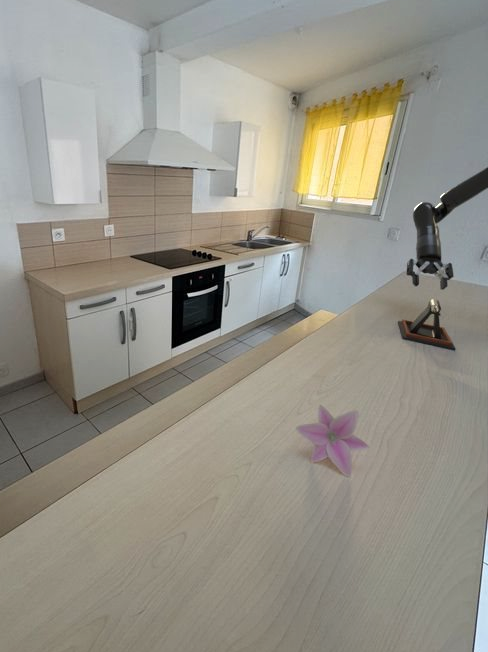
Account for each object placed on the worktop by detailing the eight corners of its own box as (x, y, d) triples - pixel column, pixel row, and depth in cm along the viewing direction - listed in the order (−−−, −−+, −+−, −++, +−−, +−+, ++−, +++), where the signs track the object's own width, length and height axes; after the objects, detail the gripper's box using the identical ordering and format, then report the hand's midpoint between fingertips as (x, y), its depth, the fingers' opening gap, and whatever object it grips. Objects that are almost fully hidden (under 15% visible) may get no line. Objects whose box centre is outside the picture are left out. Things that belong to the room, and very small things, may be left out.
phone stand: (409, 332, 115) (420, 301, 110) (409, 326, 119) (420, 296, 115) (440, 340, 110) (453, 308, 106) (438, 333, 115) (451, 302, 110)
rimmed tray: (444, 332, 118) (446, 327, 118) (454, 350, 106) (457, 345, 105) (397, 322, 124) (399, 317, 123) (402, 338, 112) (404, 333, 111)
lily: (283, 443, 67) (293, 429, 60) (316, 405, 72) (329, 388, 64) (333, 491, 62) (351, 483, 54) (366, 447, 66) (387, 434, 59)
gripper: (412, 241, 121) (412, 279, 115) (455, 245, 118) (458, 285, 112) (403, 252, 128) (403, 288, 122) (444, 256, 124) (446, 294, 119)
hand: (429, 287), depth 117 cm, fingers open, 8 cm apart
